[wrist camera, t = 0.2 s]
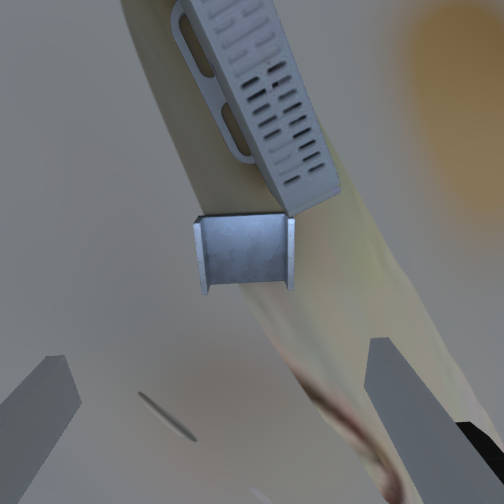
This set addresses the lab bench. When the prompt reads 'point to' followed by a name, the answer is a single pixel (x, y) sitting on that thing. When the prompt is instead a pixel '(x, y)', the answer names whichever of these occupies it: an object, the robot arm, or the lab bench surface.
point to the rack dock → (245, 248)
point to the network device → (260, 96)
